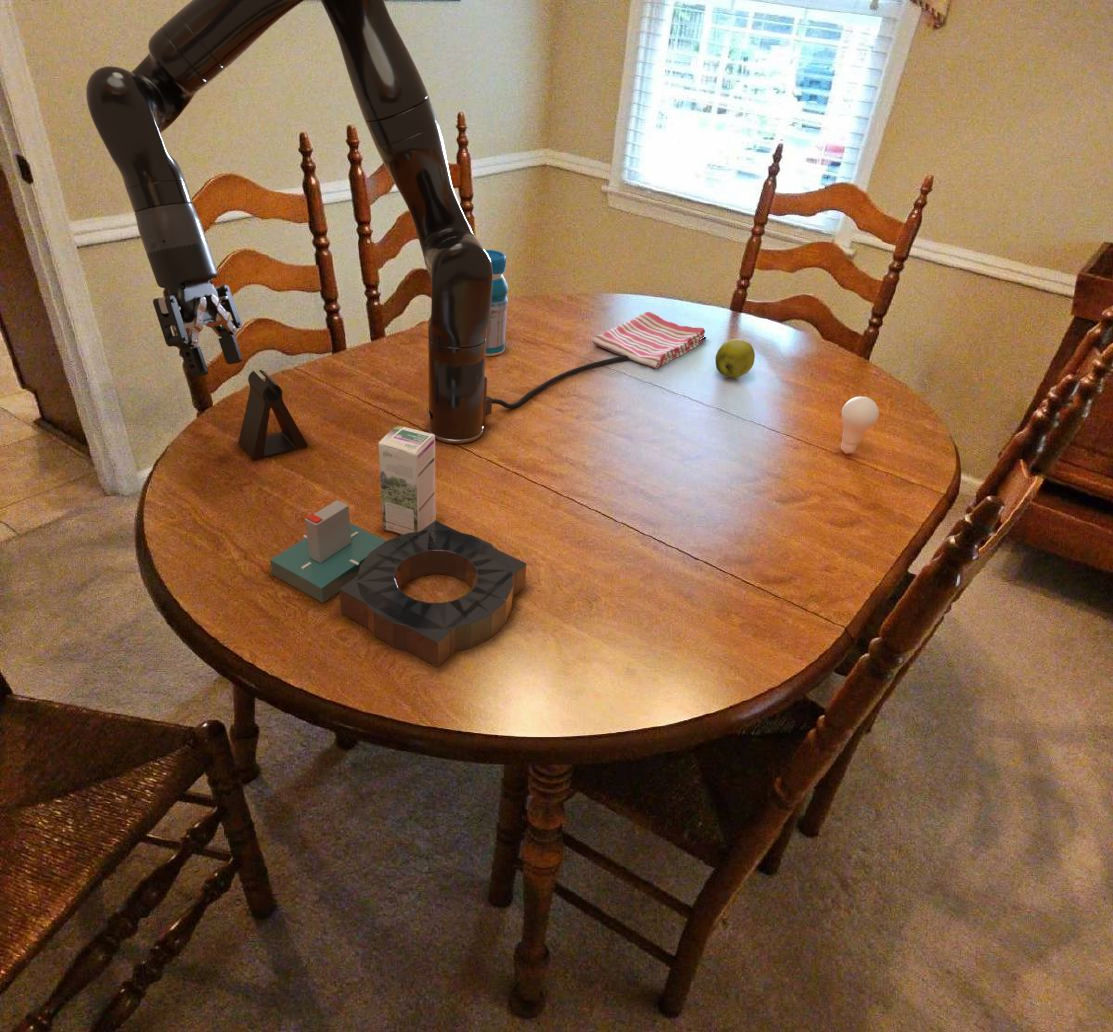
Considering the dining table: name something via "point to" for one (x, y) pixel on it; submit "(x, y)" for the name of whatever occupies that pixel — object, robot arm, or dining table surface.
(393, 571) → the dark grey ring block
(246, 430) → the phone stand
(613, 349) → the dish towel
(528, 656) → the dining table surface
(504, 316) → the beverage bottle
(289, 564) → the block
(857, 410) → the lightbulb
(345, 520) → the tap handle
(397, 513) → the syrup box
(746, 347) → the apple
